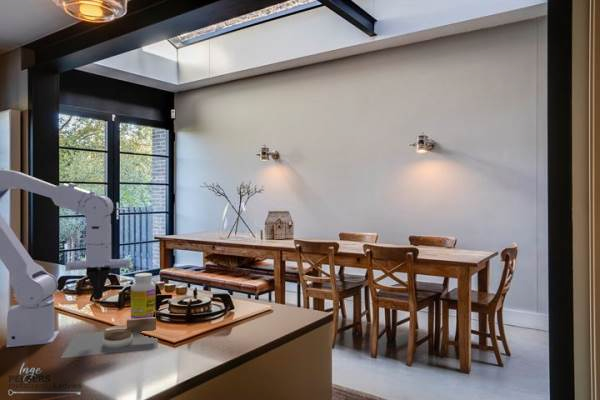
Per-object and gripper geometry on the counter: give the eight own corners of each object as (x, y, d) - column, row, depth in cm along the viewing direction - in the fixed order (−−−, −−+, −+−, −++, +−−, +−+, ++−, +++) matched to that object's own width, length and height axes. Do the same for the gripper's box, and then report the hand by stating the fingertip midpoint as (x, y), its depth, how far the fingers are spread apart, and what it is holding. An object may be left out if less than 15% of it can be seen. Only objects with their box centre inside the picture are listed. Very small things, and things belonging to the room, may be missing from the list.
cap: (102, 341, 97) (102, 325, 97) (106, 333, 102) (106, 317, 102) (155, 337, 100) (155, 321, 100) (156, 328, 106) (156, 314, 106)
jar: (101, 349, 96) (101, 342, 96) (105, 339, 102) (105, 333, 102) (131, 346, 98) (131, 339, 98) (133, 337, 105) (133, 330, 104)
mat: (60, 359, 91) (60, 358, 91) (74, 335, 106) (74, 334, 106) (157, 349, 98) (157, 347, 98) (157, 327, 113) (157, 326, 113)
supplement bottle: (147, 323, 116) (147, 277, 116) (125, 321, 117) (125, 276, 117) (160, 316, 123) (160, 272, 122) (139, 314, 124) (139, 271, 124)
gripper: (131, 240, 111) (131, 291, 111) (69, 242, 106) (69, 295, 107) (129, 244, 104) (129, 298, 105) (63, 246, 100) (63, 302, 100)
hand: (99, 297), depth 105 cm, fingers closed
